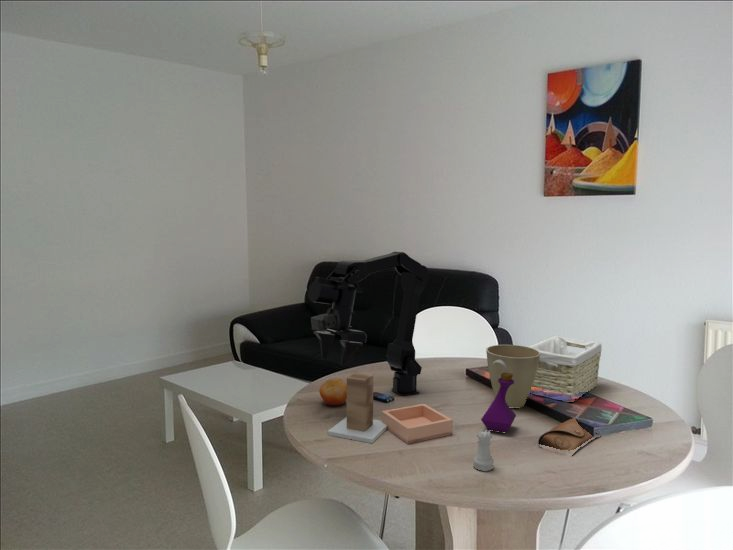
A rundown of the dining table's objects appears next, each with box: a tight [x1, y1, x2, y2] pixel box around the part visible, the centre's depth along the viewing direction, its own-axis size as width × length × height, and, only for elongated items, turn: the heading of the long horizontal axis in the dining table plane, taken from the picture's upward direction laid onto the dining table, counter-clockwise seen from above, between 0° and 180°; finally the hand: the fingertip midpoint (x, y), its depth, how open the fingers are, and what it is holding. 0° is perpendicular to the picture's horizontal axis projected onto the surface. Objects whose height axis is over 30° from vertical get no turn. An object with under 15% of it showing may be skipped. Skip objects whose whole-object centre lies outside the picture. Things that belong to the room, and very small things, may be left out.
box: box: [381, 403, 454, 445], centre depth 138 cm, size 13×13×4 cm
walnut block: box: [346, 372, 374, 432], centre depth 137 cm, size 5×5×13 cm
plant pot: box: [485, 344, 540, 408], centre depth 157 cm, size 15×15×16 cm
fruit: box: [318, 378, 347, 406], centre depth 157 cm, size 8×8×8 cm
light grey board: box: [327, 416, 388, 444], centre depth 138 cm, size 12×12×1 cm
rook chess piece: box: [472, 429, 495, 472], centre depth 118 cm, size 4×4×8 cm
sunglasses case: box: [537, 416, 592, 451], centre depth 132 cm, size 18×7×7 cm
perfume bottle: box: [480, 360, 517, 433], centre depth 138 cm, size 8×8×18 cm
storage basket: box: [528, 335, 602, 396], centre depth 170 cm, size 24×16×15 cm
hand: (332, 362), depth 150 cm, fingers open, 9 cm apart
